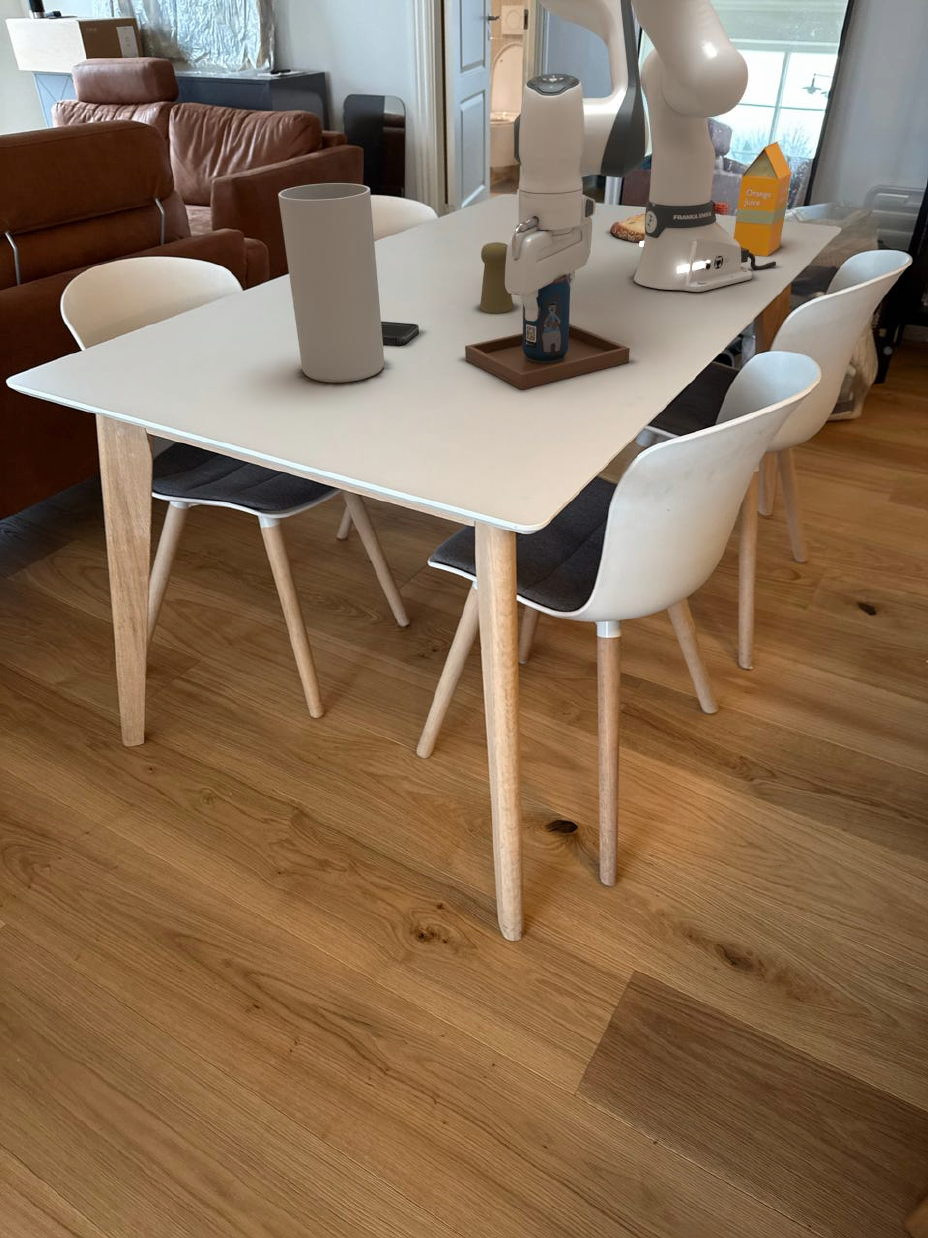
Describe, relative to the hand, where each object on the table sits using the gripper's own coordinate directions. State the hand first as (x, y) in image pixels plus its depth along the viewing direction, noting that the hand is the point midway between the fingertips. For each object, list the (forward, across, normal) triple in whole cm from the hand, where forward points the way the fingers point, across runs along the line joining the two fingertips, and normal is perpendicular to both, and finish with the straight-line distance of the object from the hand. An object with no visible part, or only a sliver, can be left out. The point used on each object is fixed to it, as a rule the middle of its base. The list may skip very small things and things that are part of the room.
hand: (547, 311), depth 134 cm
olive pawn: (+8, +21, +21) cm, 30 cm away
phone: (+8, -2, +32) cm, 33 cm away
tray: (+8, 0, 0) cm, 8 cm away
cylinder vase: (+8, -17, +26) cm, 32 cm away
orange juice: (+8, +82, -7) cm, 82 cm away
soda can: (+7, 0, 0) cm, 7 cm away
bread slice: (+8, +84, +17) cm, 86 cm away
